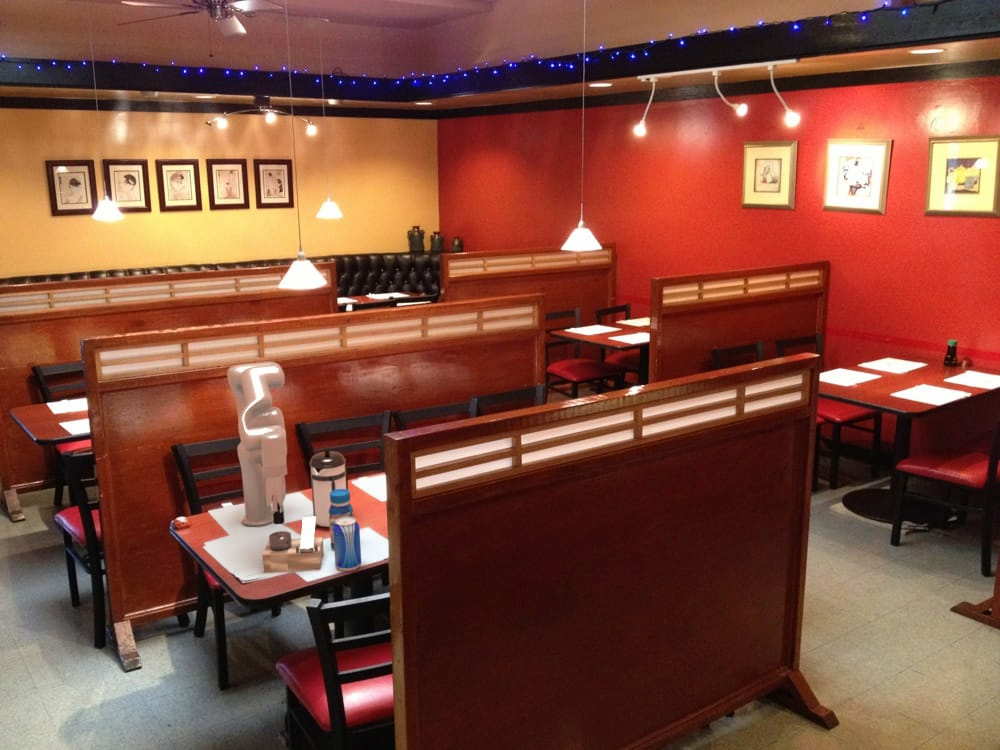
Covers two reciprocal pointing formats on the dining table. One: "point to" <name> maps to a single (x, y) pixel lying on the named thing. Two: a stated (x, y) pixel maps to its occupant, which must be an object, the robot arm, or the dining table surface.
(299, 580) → the dining table surface
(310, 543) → the bar
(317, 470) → the coffee press
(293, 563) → the board
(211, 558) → the dining table surface
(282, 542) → the pin
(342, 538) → the beer can
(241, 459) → the robot arm
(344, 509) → the beverage bottle
